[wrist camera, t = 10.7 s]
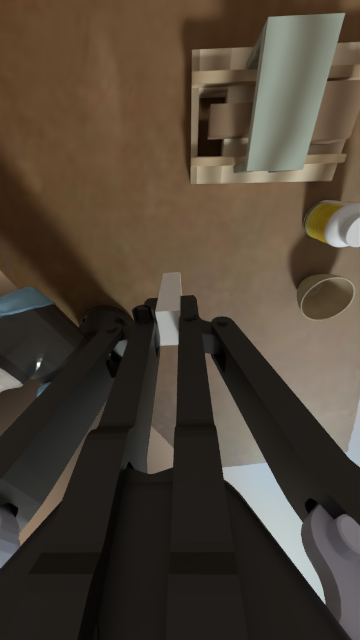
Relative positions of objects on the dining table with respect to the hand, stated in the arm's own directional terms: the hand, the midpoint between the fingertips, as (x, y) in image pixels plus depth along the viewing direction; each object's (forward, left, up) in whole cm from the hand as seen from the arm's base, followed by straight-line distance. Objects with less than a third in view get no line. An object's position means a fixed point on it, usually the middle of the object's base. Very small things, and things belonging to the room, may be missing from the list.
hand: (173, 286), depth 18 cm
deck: (+13, +15, -27) cm, 33 cm away
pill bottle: (+27, +2, -27) cm, 38 cm away
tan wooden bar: (+13, +15, -24) cm, 31 cm away
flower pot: (+30, -12, -27) cm, 42 cm away
